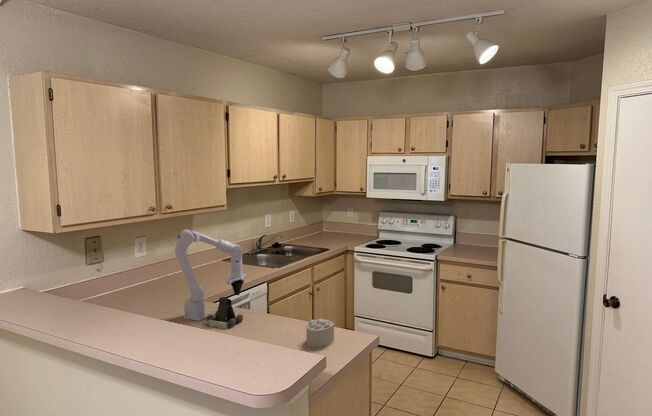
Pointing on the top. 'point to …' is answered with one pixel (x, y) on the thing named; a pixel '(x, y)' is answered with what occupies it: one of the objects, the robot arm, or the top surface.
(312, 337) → the lumpy-topped squat cylinder
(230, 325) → the chassis bay
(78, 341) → the top surface
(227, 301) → the phone stand
